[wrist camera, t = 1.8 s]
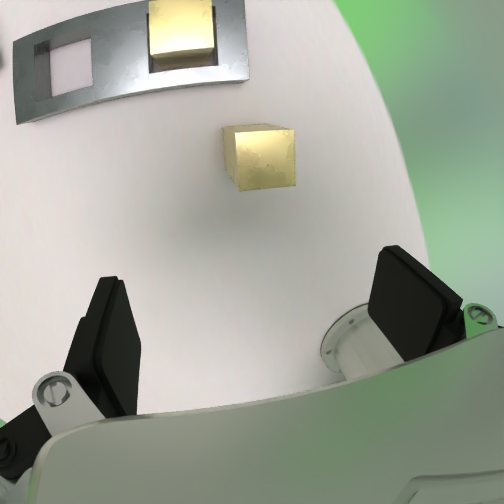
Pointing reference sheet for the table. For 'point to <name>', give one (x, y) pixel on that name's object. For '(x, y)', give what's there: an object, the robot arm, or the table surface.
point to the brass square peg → (259, 156)
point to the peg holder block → (134, 53)
